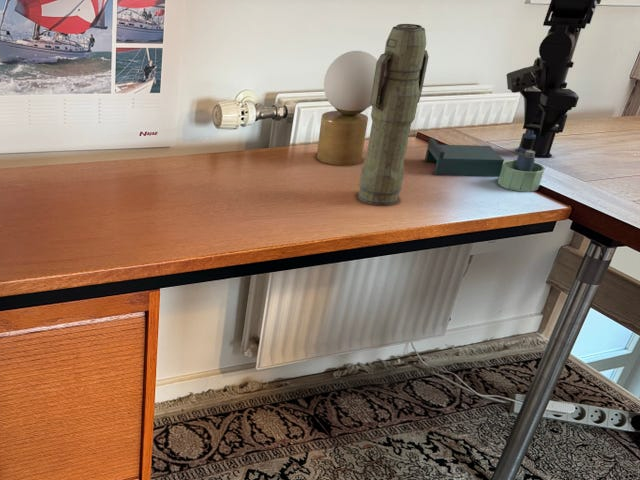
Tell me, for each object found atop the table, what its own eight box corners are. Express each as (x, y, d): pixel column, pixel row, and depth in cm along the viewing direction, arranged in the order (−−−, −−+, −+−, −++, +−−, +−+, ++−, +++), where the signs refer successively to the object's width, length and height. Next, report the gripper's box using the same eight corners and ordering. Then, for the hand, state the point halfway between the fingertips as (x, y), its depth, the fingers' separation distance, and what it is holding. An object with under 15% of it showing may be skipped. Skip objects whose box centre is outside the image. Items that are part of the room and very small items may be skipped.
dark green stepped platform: (485, 161, 175) (491, 139, 172) (499, 176, 166) (505, 153, 163) (424, 160, 176) (429, 138, 173) (435, 174, 167) (440, 152, 164)
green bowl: (530, 178, 165) (536, 160, 162) (544, 192, 157) (550, 172, 155) (493, 178, 165) (498, 159, 163) (505, 191, 158) (510, 171, 155)
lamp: (328, 144, 187) (342, 43, 173) (379, 153, 180) (397, 49, 166) (303, 158, 177) (315, 53, 163) (356, 169, 170) (373, 60, 156)
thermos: (343, 197, 155) (370, 25, 135) (381, 187, 160) (412, 20, 140) (373, 210, 149) (405, 32, 129) (411, 199, 154) (447, 26, 134)
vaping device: (520, 181, 163) (535, 129, 157) (527, 189, 159) (543, 136, 152) (508, 180, 164) (523, 129, 157) (516, 188, 159) (531, 136, 152)
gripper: (502, 45, 154) (484, 117, 163) (532, 63, 138) (510, 142, 147) (554, 46, 153) (533, 118, 162) (591, 64, 138) (565, 143, 146)
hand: (534, 130), depth 154 cm, fingers open, 9 cm apart
